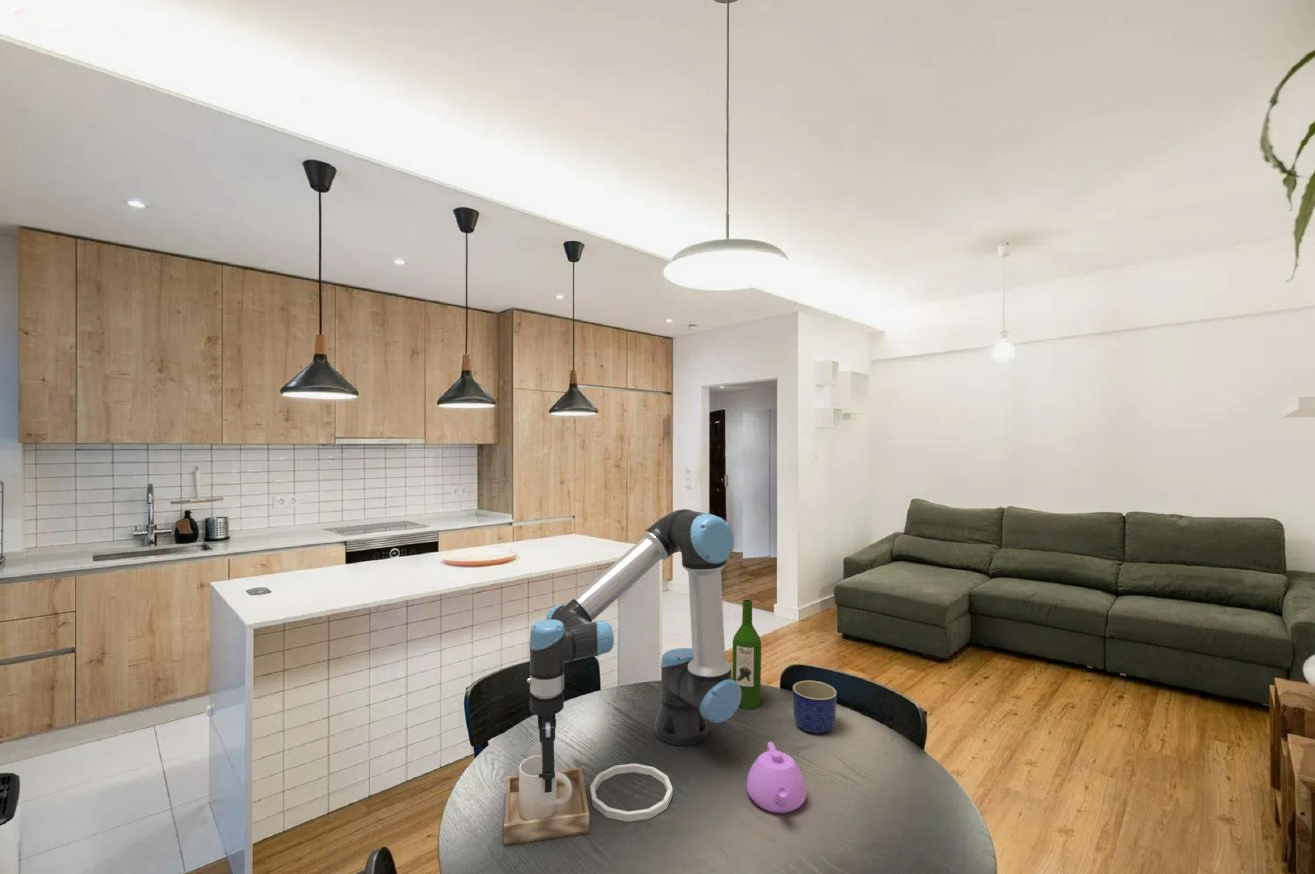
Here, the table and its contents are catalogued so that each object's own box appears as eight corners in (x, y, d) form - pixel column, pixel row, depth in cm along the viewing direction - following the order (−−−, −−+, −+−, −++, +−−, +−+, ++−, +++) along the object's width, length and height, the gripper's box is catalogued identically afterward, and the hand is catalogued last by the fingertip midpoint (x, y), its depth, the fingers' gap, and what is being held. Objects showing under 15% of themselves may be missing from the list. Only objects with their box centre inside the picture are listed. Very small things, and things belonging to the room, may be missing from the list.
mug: (576, 802, 133) (577, 758, 133) (566, 826, 125) (566, 779, 125) (526, 797, 135) (527, 753, 135) (512, 820, 127) (513, 774, 127)
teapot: (751, 827, 127) (752, 779, 127) (742, 773, 147) (743, 731, 147) (815, 830, 126) (816, 781, 126) (797, 775, 146) (798, 733, 146)
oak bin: (581, 783, 141) (581, 767, 141) (589, 833, 124) (589, 814, 124) (506, 793, 138) (506, 776, 137) (504, 845, 120) (504, 826, 120)
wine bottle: (731, 707, 181) (732, 603, 181) (732, 695, 190) (733, 595, 189) (760, 710, 180) (761, 605, 179) (760, 697, 188) (761, 597, 188)
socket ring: (661, 766, 149) (661, 760, 149) (680, 814, 131) (680, 807, 131) (586, 775, 145) (586, 769, 145) (596, 826, 126) (596, 819, 126)
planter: (801, 712, 179) (802, 676, 179) (842, 724, 172) (842, 687, 171) (785, 728, 169) (786, 691, 169) (827, 742, 162) (827, 703, 161)
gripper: (529, 670, 142) (529, 756, 142) (530, 720, 118) (530, 824, 118) (560, 667, 144) (560, 752, 144) (567, 716, 119) (567, 819, 120)
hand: (546, 785), depth 131 cm, fingers open, 13 cm apart
